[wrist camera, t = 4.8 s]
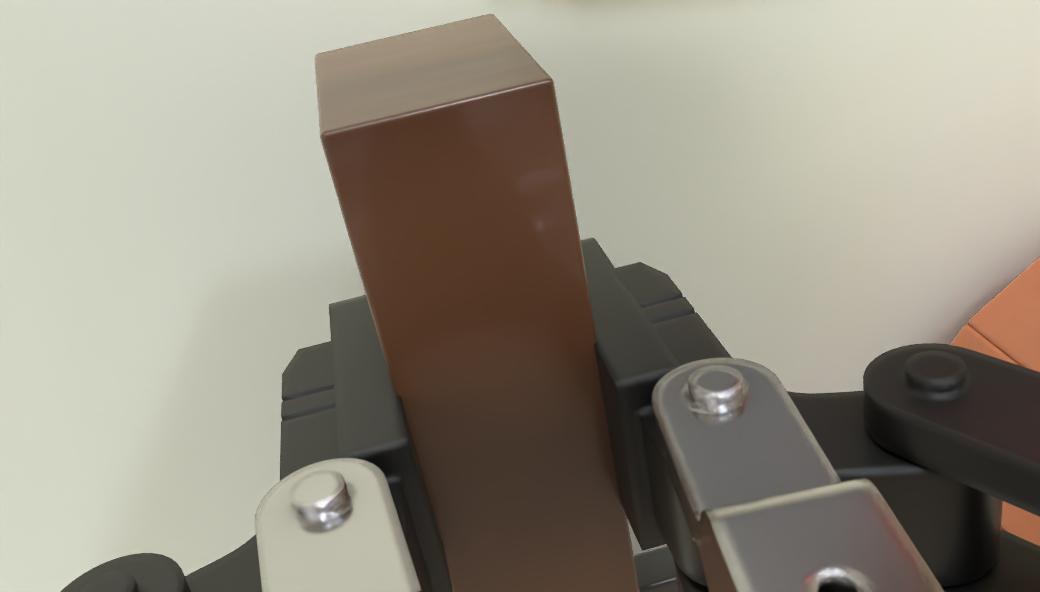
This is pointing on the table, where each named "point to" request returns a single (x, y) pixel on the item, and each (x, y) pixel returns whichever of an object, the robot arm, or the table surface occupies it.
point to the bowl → (1011, 357)
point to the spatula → (482, 303)
